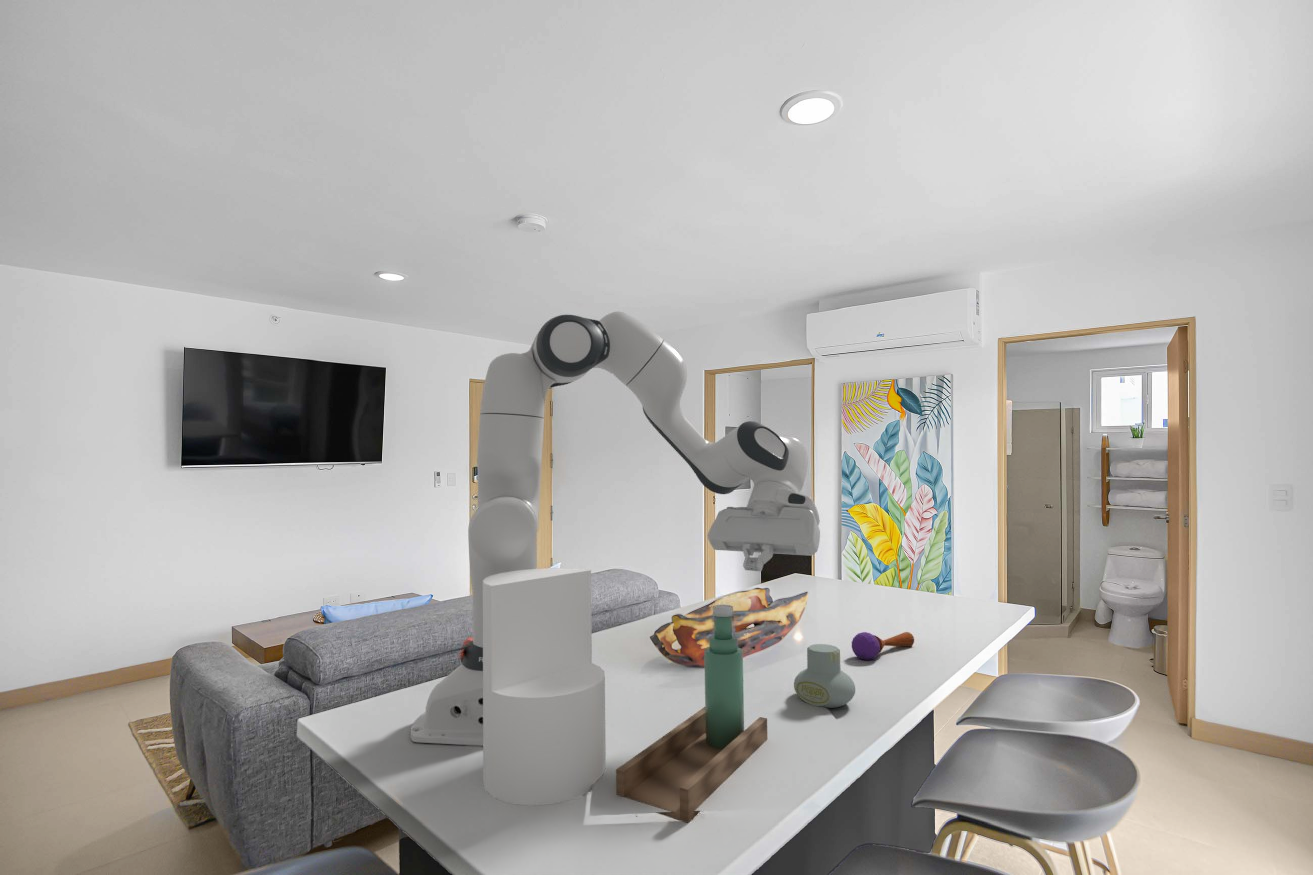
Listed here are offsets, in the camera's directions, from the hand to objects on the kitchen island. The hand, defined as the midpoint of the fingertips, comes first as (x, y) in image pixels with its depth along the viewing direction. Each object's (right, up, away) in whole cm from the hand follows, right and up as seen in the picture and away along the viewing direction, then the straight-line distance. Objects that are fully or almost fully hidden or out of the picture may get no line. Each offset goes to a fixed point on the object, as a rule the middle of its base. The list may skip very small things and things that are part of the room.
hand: (751, 568), depth 114 cm
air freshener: (+14, -26, +7) cm, 31 cm away
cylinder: (-32, -26, -20) cm, 46 cm away
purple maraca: (+36, -27, +38) cm, 59 cm away
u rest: (-10, -25, -19) cm, 33 cm away
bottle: (-6, -25, -11) cm, 28 cm away
